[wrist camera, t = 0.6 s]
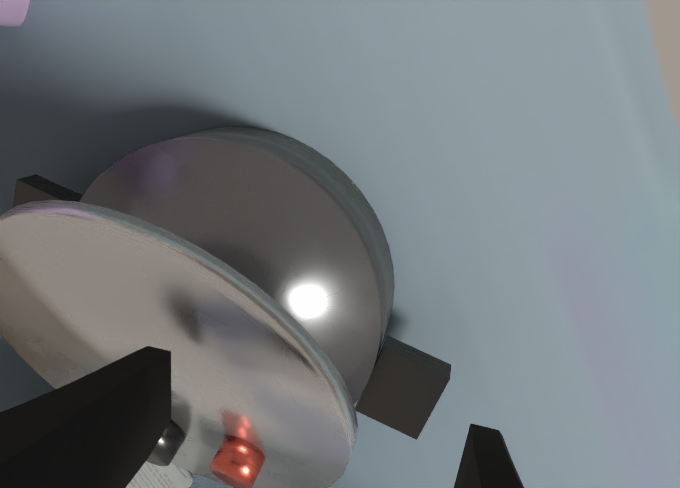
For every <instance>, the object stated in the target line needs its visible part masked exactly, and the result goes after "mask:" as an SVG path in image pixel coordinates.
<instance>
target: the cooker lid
mask: <svg viewBox="0 0 680 488" xmlns="http://www.w3.org/2000/svg"><path fill="white" fill-rule="evenodd" d="M0 333H1V334H2V335H3V336H4V338H5V339H6V340H7V342H8V343H9V344H10V345H11V346H12V347H13V348H14V349H15V351H16V352H17V353H18V354H19V355H20V356H21V357H22V358H23V359H24V360H25V361H26V362H27V363H28V364H29V365H30V366H31V367H32V368H33V369H34V370H35V371H36V372H37V373H38V374H39V375H40V376H41V377H42V378H43V379H45V380H46V381H47V382H48V383H49V384H50V385H51V386H52V387H54V388H55V389H58V388H60V387H62V386H65V385H67V384H69V383H71V382H73V381H75V380H77V379H79V378H82V377H84V376H86V375H88V374H90V373H92V372H94V371H96V370H98V369H100V368H102V367H104V366H106V365H108V364H110V363H112V362H114V361H116V360H119V359H121V358H123V357H125V356H127V355H129V354H131V353H133V352H135V351H137V350H139V349H142V348H144V347H146V346H151V347H155V348H160V349H164V350H168V351H171V420H170V422H169V424H168V426H167V427H166V429H165V431H164V433H163V434H162V436H161V438H160V440H159V441H158V443H157V445H156V446H155V448H154V450H153V451H152V453H151V455H150V456H149V458H148V459H147V460H146V461H147V462H149V463H152V464H155V465H158V466H168V465H170V463H172V464H174V465H176V466H178V467H181V468H183V469H185V470H188V471H190V472H192V473H195V474H197V475H200V476H203V477H205V478H208V479H211V480H214V481H216V482H220V483H223V484H226V485H229V486H233V487H236V488H328V487H330V486H331V485H333V484H334V483H336V482H337V481H338V479H339V478H340V477H341V476H342V475H343V473H344V471H345V468H346V466H347V464H348V461H349V458H350V456H351V453H352V451H353V448H354V445H355V443H356V439H357V431H358V424H357V416H356V410H355V407H354V404H353V401H352V398H351V395H350V393H349V391H348V389H347V387H346V385H345V383H344V381H343V379H342V377H341V375H340V373H339V372H338V370H337V369H336V367H335V366H334V365H333V363H332V362H331V360H330V359H329V357H328V356H327V354H326V353H325V352H324V350H323V349H322V348H321V347H320V346H319V345H318V343H317V342H316V341H315V340H314V339H313V337H312V336H311V335H310V334H309V333H308V332H307V330H306V329H305V328H304V327H303V326H302V325H301V324H300V323H299V322H298V321H297V320H295V319H294V318H293V317H292V316H291V315H290V314H289V313H288V312H287V311H286V310H285V309H284V308H283V307H282V306H281V305H280V304H279V303H277V302H276V301H275V300H274V299H273V298H271V297H270V296H269V295H268V294H267V293H265V292H264V291H263V290H262V289H261V288H259V287H258V286H257V285H256V284H254V283H253V282H252V281H250V280H249V279H247V278H246V277H245V276H243V275H242V274H240V273H239V272H237V271H236V270H235V269H233V268H232V267H230V266H229V265H228V264H226V263H225V262H223V261H221V260H220V259H218V258H216V257H215V256H213V255H211V254H210V253H208V252H206V251H205V250H203V249H201V248H200V247H198V246H196V245H195V244H193V243H191V242H189V241H187V240H185V239H183V238H181V237H179V236H177V235H175V234H173V233H171V232H169V231H167V230H165V229H163V228H161V227H158V226H156V225H153V224H151V223H148V222H146V221H143V220H141V219H139V218H136V217H134V216H131V215H128V214H124V213H121V212H118V211H115V210H111V209H108V208H105V207H101V206H96V205H91V204H86V203H81V202H76V201H61V200H45V201H34V202H29V203H26V204H23V205H19V206H16V207H14V208H12V209H11V210H9V211H8V212H6V213H5V214H3V215H2V216H0Z"/></svg>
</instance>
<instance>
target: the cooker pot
mask: <svg viewBox="0 0 680 488" xmlns="http://www.w3.org/2000/svg"><path fill="white" fill-rule="evenodd" d="M45 200H61V201H76V202H81V203H86V204H91V205H96V206H101V207H105V208H108V209H111V210H115V211H118V212H121V213H124V214H128V215H131V216H134V217H136V218H139V219H141V220H143V221H146V222H148V223H151V224H153V225H156V226H158V227H161V228H163V229H165V230H167V231H169V232H171V233H173V234H175V235H177V236H179V237H181V238H183V239H185V240H187V241H189V242H191V243H193V244H195V245H196V246H198V247H200V248H201V249H203V250H205V251H206V252H208V253H210V254H211V255H213V256H215V257H216V258H218V259H220V260H221V261H223V262H225V263H226V264H228V265H229V266H230V267H232V268H233V269H235V270H236V271H237V272H239V273H240V274H242V275H243V276H245V277H246V278H247V279H249V280H250V281H252V282H253V283H254V284H256V285H257V286H258V287H259V288H261V289H262V290H263V291H264V292H265V293H267V294H268V295H269V296H270V297H271V298H273V299H274V300H275V301H276V302H277V303H279V304H280V305H281V306H282V307H283V308H284V309H285V310H286V311H287V312H288V313H289V314H290V315H291V316H292V317H293V318H294V319H295V320H297V321H298V322H299V323H300V324H301V325H302V326H303V327H304V328H305V329H306V330H307V332H308V333H309V334H310V335H311V336H312V337H313V339H314V340H315V341H316V342H317V343H318V345H319V346H320V347H321V348H322V349H323V350H324V352H325V353H326V354H327V356H328V357H329V359H330V360H331V362H332V363H333V365H334V366H335V367H336V369H337V370H338V372H339V373H340V375H341V377H342V379H343V381H344V383H345V385H346V387H347V389H348V391H349V393H350V395H351V398H352V401H353V404H355V403H356V401H357V400H358V401H357V404H356V407H355V410H356V411H358V412H360V413H362V414H364V415H366V416H368V417H370V418H372V419H375V420H377V421H379V422H381V423H383V424H385V425H387V426H389V427H391V428H393V429H396V430H398V431H400V432H402V433H404V434H406V435H408V436H410V437H412V438H415V439H417V438H418V436H419V434H420V433H421V431H422V429H423V427H424V425H425V423H426V422H427V420H428V418H429V416H430V414H431V413H432V411H433V409H434V407H435V405H436V403H437V402H438V400H439V398H440V396H441V394H442V392H443V391H444V389H445V387H446V385H447V383H448V381H449V380H450V372H451V365H450V364H448V363H446V362H444V361H442V360H440V359H437V358H435V357H433V356H431V355H429V354H426V353H424V352H422V351H420V350H418V349H416V348H413V347H411V346H409V345H407V344H405V343H402V342H400V341H398V340H396V339H394V338H392V337H389V336H387V338H386V341H385V343H384V345H383V347H382V349H381V351H380V353H379V350H380V347H381V344H382V342H383V339H384V336H385V333H386V330H387V327H388V324H389V321H390V316H391V312H392V307H393V298H394V273H393V264H392V259H391V254H390V249H389V246H388V243H387V240H386V237H385V234H384V231H383V229H382V226H381V224H380V222H379V220H378V218H377V216H376V214H375V212H374V210H373V209H372V207H371V206H370V204H369V203H368V201H367V200H366V198H365V197H364V195H363V194H362V192H361V191H360V190H359V189H358V188H357V186H356V185H355V184H354V183H353V182H352V181H351V180H350V178H349V177H348V176H347V175H346V174H345V173H344V172H343V171H341V170H340V169H339V168H338V167H337V166H336V165H335V164H334V163H332V162H331V161H330V160H329V159H327V158H326V157H324V156H323V155H321V154H320V153H318V152H317V151H315V150H314V149H312V148H311V147H309V146H307V145H305V144H303V143H301V142H299V141H297V140H295V139H293V138H290V137H287V136H284V135H281V134H278V133H276V132H272V131H267V130H263V129H258V128H251V127H236V126H232V127H219V128H212V129H207V130H203V131H198V132H194V133H191V134H187V135H184V136H180V137H176V138H173V139H169V140H165V141H162V142H158V143H154V144H151V145H148V146H145V147H143V148H140V149H138V150H135V151H133V152H130V153H129V154H127V155H125V156H124V157H122V158H120V159H119V160H117V161H115V162H114V163H113V164H111V165H110V166H109V167H108V168H107V169H105V170H104V171H103V172H102V173H101V174H100V175H99V176H98V177H97V178H96V179H95V180H94V181H93V183H92V184H91V185H90V186H89V187H88V188H87V190H86V191H85V193H84V195H83V196H82V195H80V194H77V193H75V192H73V191H71V190H69V189H67V188H64V187H62V186H60V185H58V184H56V183H53V182H51V181H49V180H47V179H45V178H43V177H40V176H38V175H32V176H28V177H25V178H21V179H17V183H16V190H15V198H14V205H13V208H14V207H16V206H19V205H23V204H26V203H29V202H34V201H45ZM378 353H379V355H378ZM377 356H378V357H377ZM376 359H377V360H376ZM235 488H236V487H235Z"/></svg>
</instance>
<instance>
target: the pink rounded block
mask: <svg viewBox="0 0 680 488" xmlns="http://www.w3.org/2000/svg"><path fill="white" fill-rule="evenodd" d="M29 2H30V0H0V26H11V27H18V26H20V25H21V24H22V23H23V22H24V19H25V17H26V14H27V10H28V7H29Z"/></svg>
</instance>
